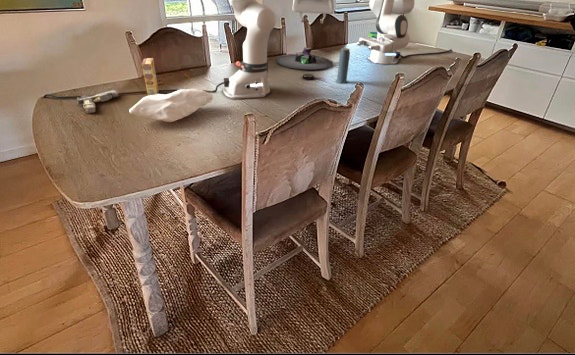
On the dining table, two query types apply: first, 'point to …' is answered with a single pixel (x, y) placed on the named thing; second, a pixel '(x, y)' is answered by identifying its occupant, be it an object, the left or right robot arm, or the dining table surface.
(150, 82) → the candy box
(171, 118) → the crumpled cloth
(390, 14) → the right robot arm
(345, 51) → the grey tall cylinder
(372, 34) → the snack cup
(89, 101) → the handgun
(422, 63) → the dining table surface
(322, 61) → the round decorative tray
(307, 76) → the lid
